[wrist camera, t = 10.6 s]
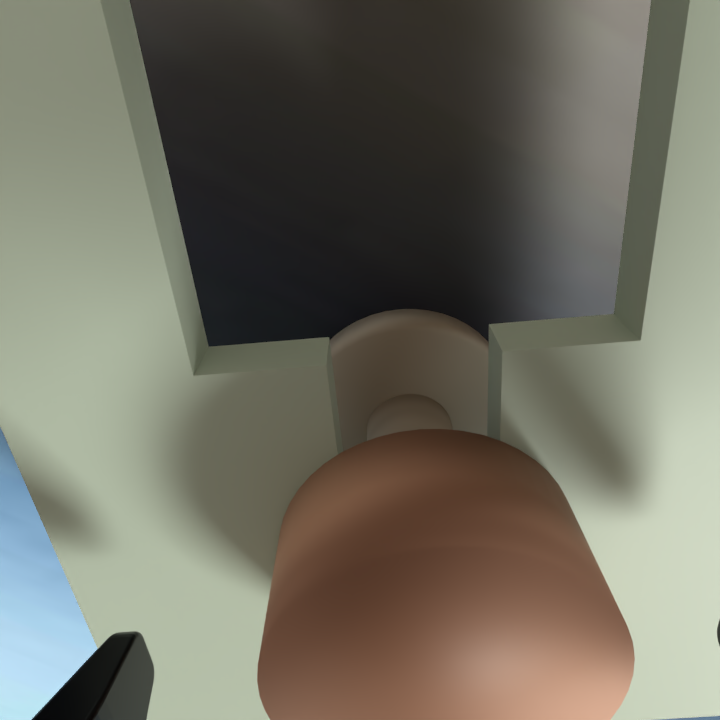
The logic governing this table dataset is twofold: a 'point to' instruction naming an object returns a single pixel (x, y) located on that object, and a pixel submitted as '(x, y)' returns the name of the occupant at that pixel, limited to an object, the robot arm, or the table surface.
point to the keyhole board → (331, 375)
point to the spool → (434, 555)
